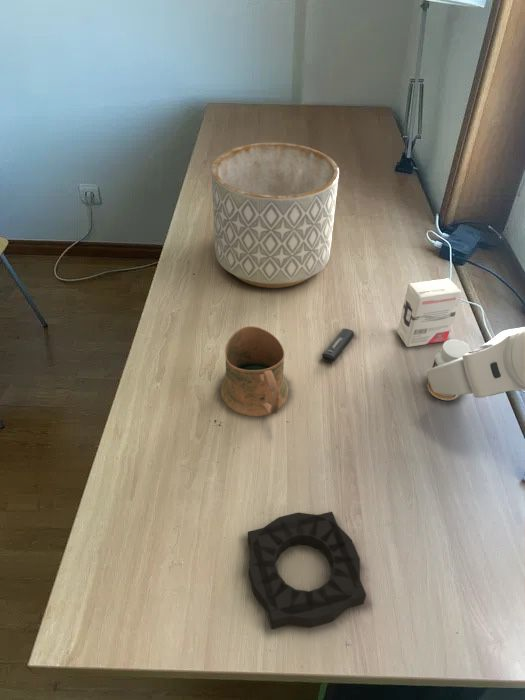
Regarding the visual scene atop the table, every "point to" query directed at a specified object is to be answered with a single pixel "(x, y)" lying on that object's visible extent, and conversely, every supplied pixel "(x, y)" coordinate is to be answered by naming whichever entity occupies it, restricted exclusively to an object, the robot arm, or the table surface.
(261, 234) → the planter
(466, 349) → the pill bottle
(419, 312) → the ink box
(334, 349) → the usb stick
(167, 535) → the table surface
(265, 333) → the mug
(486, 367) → the robot arm
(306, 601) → the base pad
